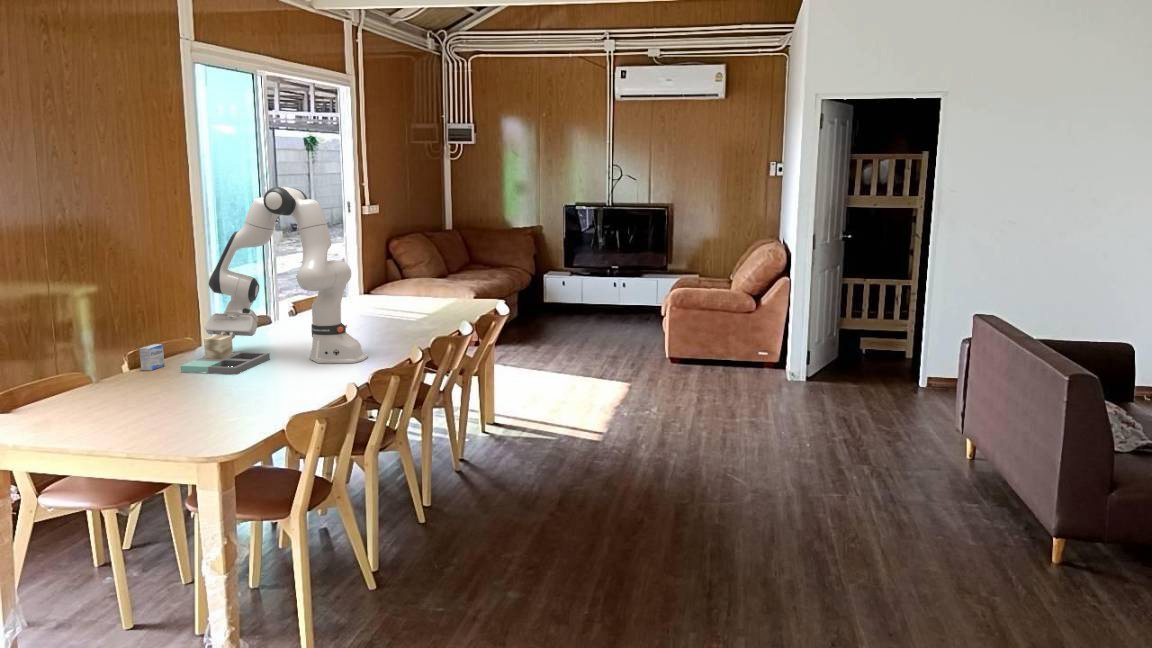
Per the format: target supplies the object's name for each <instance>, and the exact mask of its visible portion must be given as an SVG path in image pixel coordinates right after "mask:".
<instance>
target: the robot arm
mask: <svg viewBox="0 0 1152 648" xmlns="http://www.w3.org/2000/svg"><path fill="white" fill-rule="evenodd" d="M281 216H292V217H293V218H294V220H295V221H296V225H297V230H298V232H299V234H298V235H299V237H300V242H301V247H302V262H301V266H300V268H299V269H298V271H297V274H296V281H297V283H298V285H299V287H300V288H301V289H302V290H304V291H307V292H308V291H309V292H317V296H316V298H315V300H314V301H313V302H312V304H311V316H312V318H311V319H312V323H311V337H312V344H311V345H312V346H311V353H310V357H309V360H311V361H312V360H313V362H315V363H316V364H355V363H360V362H362V361H364V360H366V359H367V358H369V357H368V354H367V353H364V352H363V349H362V345H361V343H360V342H359V340H357V339H356V338H354V337H353V335H350V334H349V333H348V332H347V331H346V330H347V328H348V324H345V325H344V323H342V308H341V307H342V299H343V296H344V295H343V294H344V291H345V288H346V286H347V284H348V283H349V282H350V280H351V278H352V269H351V267H350V266H349V264H348V263H347V262H345V261H343V260H337V259H336V260H335V259H332V260H328V252H329V249H330V248H331V247H332V246H331V245H332V240H331V235H330V231H329V226H328V223H327V220H326V216H325V213H324V211H323V209H322V206H321V204H320V203H319V202H318V201H317V200H315V199H310V198H308V197H307V195H306V194H305V193H304V191H302V190H300V189H298V188H295V187H294V188H292V187H288V186H274V187H272V188H269V189H268V190H267V191H266V192H265V193H264V196H263V197H262V196H261V197H257V198H255V199H254V200H253V201H252V203H251V205H250V207H249V209H248V211H247V214H246V218H245V221H244V224H243V225H242V227H241V229H240V230H238V231H235V232H233V233H232V235H231V236H230V238H229V240H228V241H227V244H226V245H225V248H224V249H223V252H222V253H221V255H220V257H219V260H218V262H217V264H216V266H215V268H214V270H213V271H212V273H211V274H210V277H209V279H208V287H209V288H210V290H211V291H212V292H213V293H215V294H220V295H226V296H229V297H230V301H229V302H228V303H227V306H225V307H226V308H225V311H224V313H217V312H216V313H214V314H212V315H210V317H209V319H208V320H207V322H206V324H205V326H204V330H205V332H206V333H207V334H208V335H225V336H232V340H234V338H235V337H236V336H242V337H245V336H246V337H253V336H254V335H255V334H256V332H257V329H258V323H259V317H258V315H257V313H255V312H254V310H253V309H251V307H252V306H253V304H254V302H255V301H256V300H257V297H258V294H259V292H260V284H259V282H258V280H257V279H256V277H254V276H253V277H252V276H250V275H247V274H243V273H239V272H235V271H231V270H229V266H230V264H231V262H232V261H233V258H234V256H235V254H236V252H237V251H239V250H240V249H246V248H247V249H248V248H257V247H261V246H262V247H263V246H265V245H266V244H267V243H269V242H270V240H271V238H272V236H273V233H274V228H275V227H276V222H277V219H278V218H279V217H281Z"/></svg>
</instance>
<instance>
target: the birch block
mask: <svg viewBox="0 0 1152 648" xmlns="http://www.w3.org/2000/svg"><path fill="white" fill-rule="evenodd" d="M203 343H204V345H203V346H204V356H205V358H216V359H223V358H225V357H228V356H230V355H233V352H234V348H233V339H232V336H230V335H227V336H225V335H215V334H213V335H211V336H209V337H206V338H204V339H203Z"/></svg>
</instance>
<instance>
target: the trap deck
mask: <svg viewBox="0 0 1152 648" xmlns="http://www.w3.org/2000/svg"><path fill="white" fill-rule="evenodd" d="M269 360H271V357H270V353H268V352H249V351H247V352H245V351H233V355H230V356H228V357H225V358H223V359H216V358H205V355H204V356H202V357H200V358H199V357H198V358H197V359H194V360H192V361H189V362H186V363H183V364H181V365H180V373H187V372H206V373H205V374H209V373H221V374H220V375H231V374H237V375H238V373H239V374H240V372H241V373H243V372H245V371H248V370H250V369H252V368H254V367H256V366H258V365H260V364H262V363H265V362H267V361H269ZM228 366H229V367H228ZM231 366H233V367H231ZM247 369H248V370H247Z"/></svg>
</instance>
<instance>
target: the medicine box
mask: <svg viewBox="0 0 1152 648" xmlns="http://www.w3.org/2000/svg"><path fill="white" fill-rule="evenodd" d="M164 356H165V355H164V345H163V344H161V343H160V344H159V343H153V344H150V345H147V346H143V347H140V348H139V359H140V368H141V369H140V370H141V371H151V372H152V371H155V370H158V369H161V368H163V367H165V365H166V364H165V357H164Z"/></svg>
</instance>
